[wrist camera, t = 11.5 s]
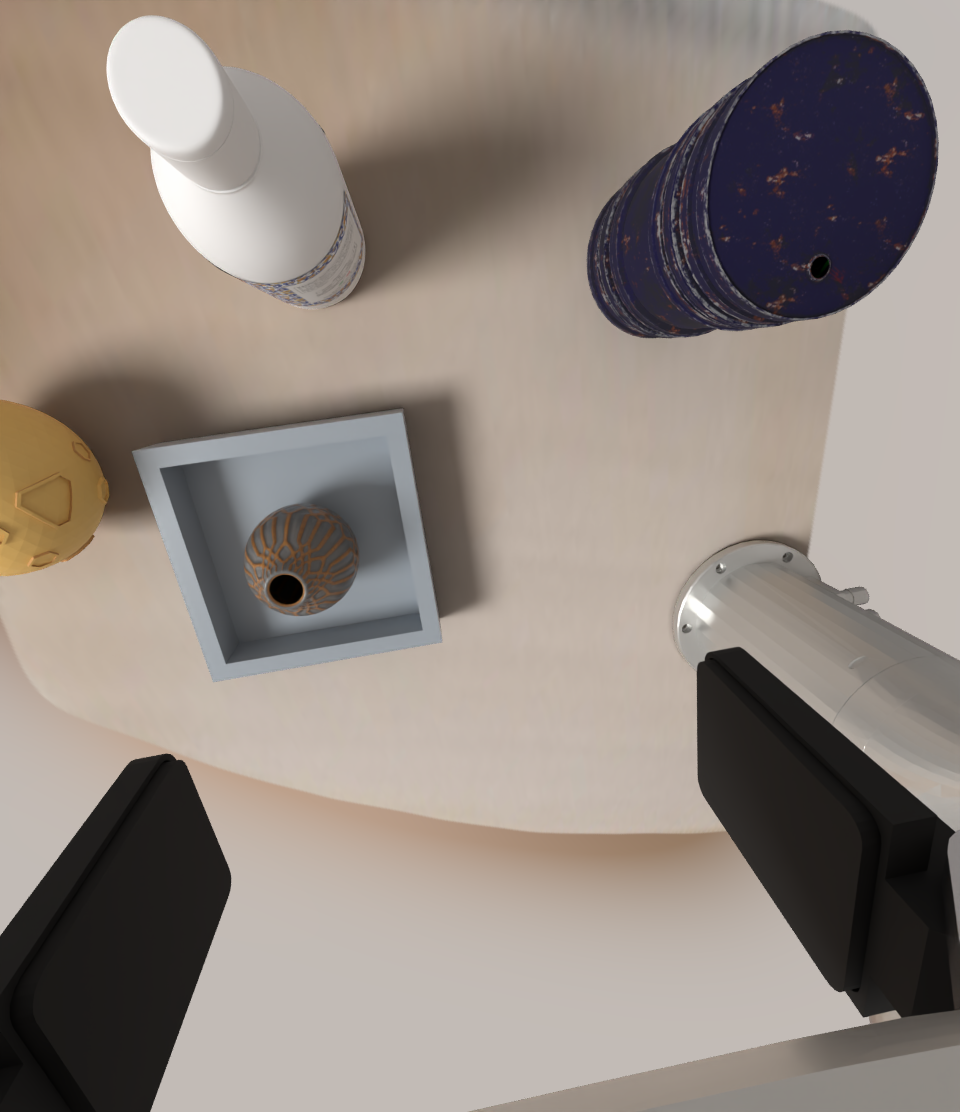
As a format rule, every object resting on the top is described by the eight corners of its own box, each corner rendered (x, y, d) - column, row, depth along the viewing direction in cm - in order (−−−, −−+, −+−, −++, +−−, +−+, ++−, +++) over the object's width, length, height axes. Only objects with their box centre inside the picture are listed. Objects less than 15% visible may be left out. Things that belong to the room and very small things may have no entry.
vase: (383, 552, 38) (375, 602, 30) (306, 604, 39) (278, 667, 31) (320, 473, 36) (293, 505, 28) (240, 530, 37) (190, 578, 28)
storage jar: (576, 183, 33) (697, 48, 19) (728, 155, 33) (956, 3, 19) (593, 353, 36) (707, 345, 22) (731, 326, 37) (926, 300, 23)
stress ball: (-37, 425, 34) (-124, 570, 30) (-107, 327, 26) (-239, 510, 22) (139, 479, 38) (80, 613, 34) (126, 408, 30) (47, 575, 26)
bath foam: (227, 201, 31) (-54, -49, 12) (340, 164, 31) (232, -142, 12) (278, 325, 34) (109, 273, 15) (382, 290, 34) (346, 194, 15)
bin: (403, 407, 36) (402, 412, 32) (439, 618, 42) (442, 642, 38) (160, 442, 35) (131, 451, 31) (230, 654, 40) (213, 682, 37)
